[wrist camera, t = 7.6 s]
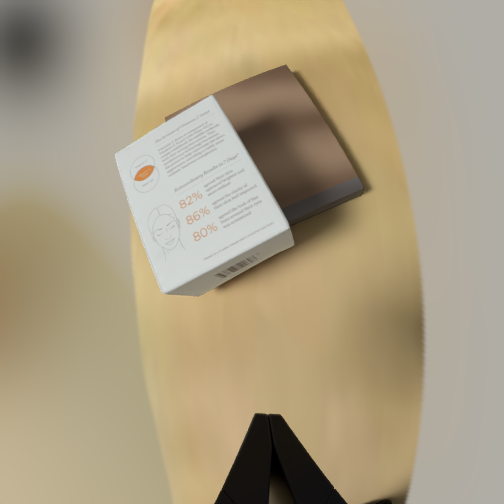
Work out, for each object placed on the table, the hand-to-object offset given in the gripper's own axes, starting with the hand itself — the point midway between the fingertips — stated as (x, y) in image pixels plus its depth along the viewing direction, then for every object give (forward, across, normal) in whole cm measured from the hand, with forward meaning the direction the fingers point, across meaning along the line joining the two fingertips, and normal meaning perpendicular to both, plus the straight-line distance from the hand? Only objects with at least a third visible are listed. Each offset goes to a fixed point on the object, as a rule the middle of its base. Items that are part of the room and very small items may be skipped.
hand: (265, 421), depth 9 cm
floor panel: (+19, +1, -8) cm, 20 cm away
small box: (+10, +1, -1) cm, 11 cm away
